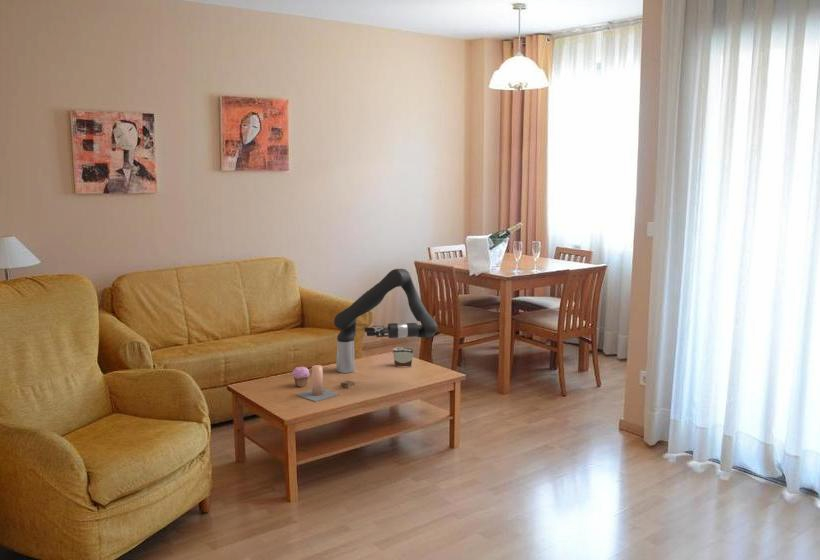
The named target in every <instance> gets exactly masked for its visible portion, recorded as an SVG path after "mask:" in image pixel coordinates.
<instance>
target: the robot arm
mask: <svg viewBox="0 0 820 560" xmlns="http://www.w3.org/2000/svg"><path fill="white" fill-rule="evenodd" d="M399 287H400V288H401V289H402V290H403V291H404V293H405V295H406V297H407V303H408V306H409V310H410V312H411V314H412V315H413V316H414V318H415V320H416V321H417V322H419V323H420V324H418V323H416V322H389V323H387V327H385V325H373V326H370V327H364V333H366V336H367V337H377V338H384V337H386V338H387V337H388V339H402V338H414V337H416V338H420V339H421V338H423V339H428V338H433V337H434V336H435V334H436V333H437V331H438V324H437V322H436V320H435V319H434V318H433V317H432V316H431V314H430V313H429V312H428V310H427V309H426V307H425V305H424V304H423V302H422V300H421V298H420V296H419V293H418V292H417V289H416V287H415V284H414V282H413V278H412V276H411V274H410V272H409V271H408V270H407V269H405V268H394V269H391V270H390V271H389V272H388V273H387V274H386V275H385V276H384V277H382V279H381V280H380V281H379V282H378V283H376V284H375V285H373V286H372V287H371V288H370V289H368V290H367V291H365V292H364V293H363V294H361V296H359V297H358V299H356V300H355V301H353V303H352V304H351V305H349V306H348V307H346V308H345V309H343V310H342V311H341V312H339V313H337V314H336V315H335V316H334V319H333V323H334V326H335V328H337V329H338V330H340V331H339V333H338V334H337V337H336V340H337V341H336V342H337V343H336V344H337V346H336V347H337V348H336V349H337V353H336V355H335V356H336V357H335V358H336V359H335V360H336V362H335V363H336V371H337V372H338V373H342V374H347V373H354V372H355V336H356V333H357V332H356V331H357V318H359V317H361V316H363V315H365V314H367V313H369V312H370V311H372V310H373V309H374V308H376V307H377V306H378V305H379V304H381V303H382V302H383V300H384V298H385V297H386V295H387V294H388V293H389V292H390V291H393V290H394V289H396V288H399Z"/></svg>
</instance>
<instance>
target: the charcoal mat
mask: <svg viewBox="0 0 820 560" xmlns="http://www.w3.org/2000/svg"><path fill="white" fill-rule="evenodd" d="M336 395H338V396H340V393H337V392H335V391H331V390H328V389H327V388H326V389H325V388H323V395H320V396H315V395H313V394H312V389H309V390H306V391H302V392H299V393H296V394H295V396H297V397H299V396H300V398H302V397H303V398H302V399H305V398H306V399H305V400H308V399H309V400H308V401H311V400H312V401H311V402H313V401H315V402H314V403H317V402H316V401H318V402H321V401H324V400H327V398H328V399H330V397H331V398H334V397H337V396H336ZM333 396H334V397H333ZM323 399H324V400H323ZM320 400H321V401H320Z"/></svg>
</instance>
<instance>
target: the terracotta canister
mask: <svg viewBox="0 0 820 560" xmlns="http://www.w3.org/2000/svg"><path fill="white" fill-rule="evenodd" d="M323 370H324V369H323V365H321V364H313V365H312V366H311V385H312V387H311V388H312V389H311V390H312V394H313V395H315V396H320V395H323V389H324V373H323Z"/></svg>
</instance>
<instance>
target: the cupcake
mask: <svg viewBox="0 0 820 560" xmlns="http://www.w3.org/2000/svg"><path fill="white" fill-rule="evenodd" d="M291 375H292V377H293V378H294V385H295V386H296V387H299V388H304V387H306V386H307V384H308V381H309V377H310V370H309V369H308V367H306V366H297V367H295V368H294V369H293V370H292V373H291Z"/></svg>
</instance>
